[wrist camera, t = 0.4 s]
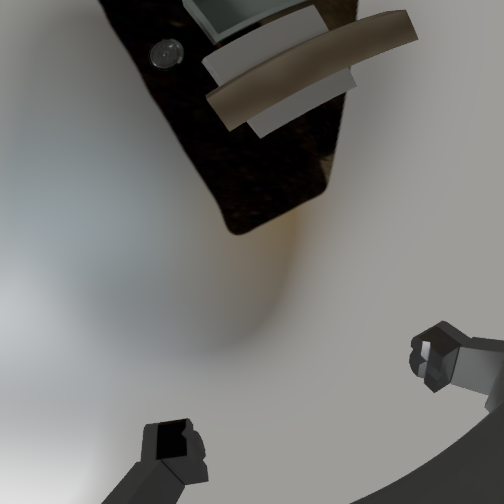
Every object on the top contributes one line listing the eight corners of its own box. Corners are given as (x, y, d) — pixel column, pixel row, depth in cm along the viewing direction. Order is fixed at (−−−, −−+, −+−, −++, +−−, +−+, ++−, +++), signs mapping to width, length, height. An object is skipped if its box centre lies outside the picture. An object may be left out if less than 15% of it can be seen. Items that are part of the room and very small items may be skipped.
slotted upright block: (201, 61, 42) (204, 57, 21) (259, 29, 39) (313, 4, 19) (231, 104, 48) (260, 138, 27) (286, 72, 45) (356, 86, 25)
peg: (205, 95, 24) (206, 99, 21) (386, 11, 19) (405, 9, 17) (225, 123, 26) (229, 131, 23) (398, 38, 21) (418, 39, 19)
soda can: (190, 46, 39) (188, 40, 30) (182, 71, 42) (178, 73, 33) (162, 41, 38) (152, 35, 28) (155, 67, 40) (143, 68, 31)
